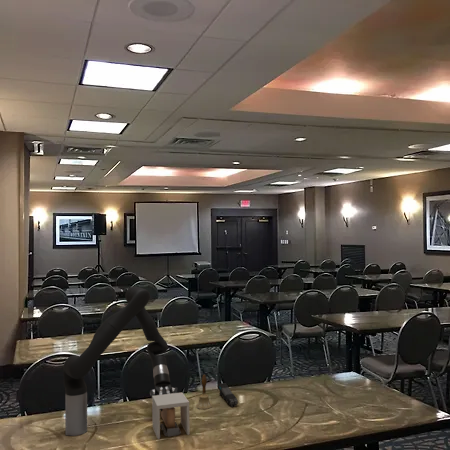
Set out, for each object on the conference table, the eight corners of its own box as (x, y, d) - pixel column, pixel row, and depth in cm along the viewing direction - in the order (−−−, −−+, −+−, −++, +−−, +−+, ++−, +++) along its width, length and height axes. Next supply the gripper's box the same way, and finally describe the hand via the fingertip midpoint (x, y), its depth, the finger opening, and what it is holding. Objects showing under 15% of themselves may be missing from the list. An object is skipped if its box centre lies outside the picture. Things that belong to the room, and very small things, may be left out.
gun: (224, 393, 262) (226, 377, 260) (236, 417, 245) (238, 401, 242) (216, 394, 261) (218, 378, 258) (228, 418, 243) (230, 402, 240)
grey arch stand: (157, 438, 204) (157, 405, 205) (152, 426, 217) (152, 395, 218) (189, 434, 208) (189, 401, 209) (182, 422, 222) (182, 392, 222)
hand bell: (209, 402, 249) (209, 371, 249) (214, 408, 241) (213, 376, 241) (194, 404, 246) (193, 373, 246) (198, 410, 238) (197, 377, 239)
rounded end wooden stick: (175, 428, 211) (175, 410, 211) (167, 429, 210) (167, 411, 210) (168, 414, 228) (167, 397, 228) (160, 415, 227) (160, 398, 227)
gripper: (147, 373, 230) (151, 407, 218) (176, 371, 234) (182, 404, 222) (146, 382, 235) (150, 415, 223) (174, 379, 239) (180, 411, 227)
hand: (166, 409), depth 223 cm, fingers closed on rounded end wooden stick, 3 cm apart
